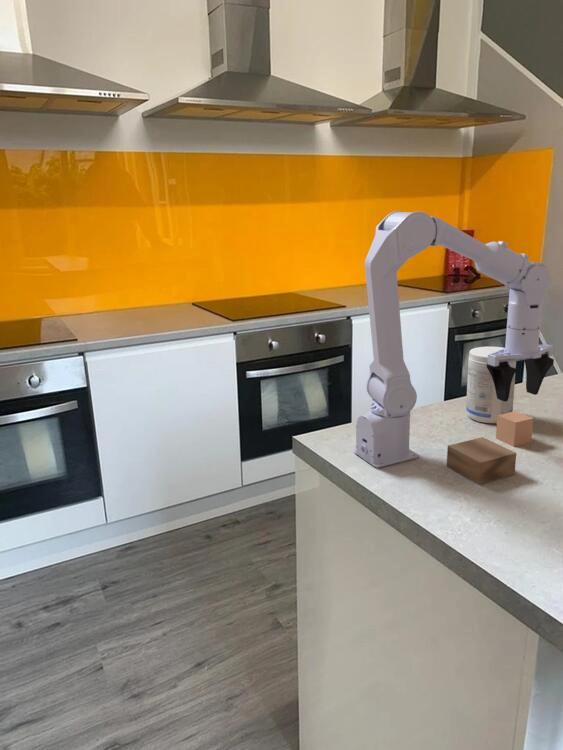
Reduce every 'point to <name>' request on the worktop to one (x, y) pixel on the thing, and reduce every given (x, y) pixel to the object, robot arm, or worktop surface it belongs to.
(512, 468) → the walnut block
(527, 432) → the orange-tan cube
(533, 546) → the worktop surface
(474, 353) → the supplement tub
